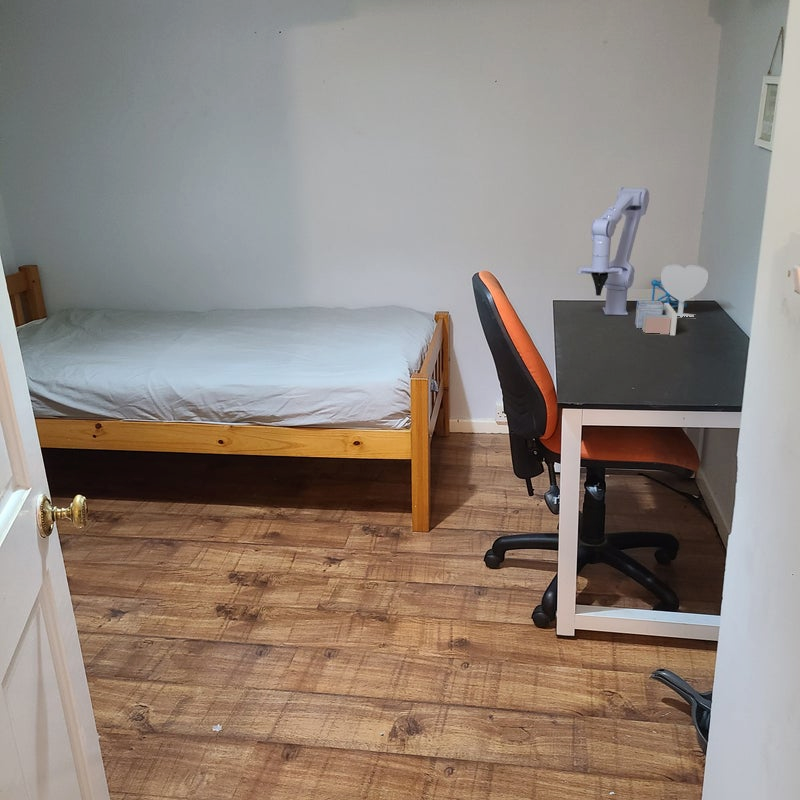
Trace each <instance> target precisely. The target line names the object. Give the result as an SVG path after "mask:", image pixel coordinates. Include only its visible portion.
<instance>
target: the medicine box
mask: <svg viewBox="0 0 800 800" xmlns="http://www.w3.org/2000/svg"><path fill="white" fill-rule="evenodd" d="M661 301H662V300H659V301H655V300H654V301H651V300H637V301H636V308H635V309H636V310H635V313H636V314H635V320H634V325H636V326H635V327H636V329H637V328H639V329H640V328H642V321H643V315H662V312H663V305H664V303H662V302H661Z"/></svg>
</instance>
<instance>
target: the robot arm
mask: <svg viewBox="0 0 800 800" xmlns="http://www.w3.org/2000/svg"><path fill="white" fill-rule="evenodd" d="M615 201H616V202H615V203H614V204H613V206H609V207H607V209H606V210H605V212H604V213H603V214H602V215H601V216H600V217H599V218H596V219H593V221H592V223H591V225H590V226H591V227H590V233H591V234H590V235H591V241H592V252H591V254H592V256H591V266H587V267H586V266H584V267H577V274H578V275H591V278H592V280H593V284H594V288H595V296H601V295H602V291H603V288H606V291H605V292H606V294H605V296H606V297H605V305H604V306H603V307H602V310H603V312H604V315H613V316H615V315H616V316H617V315H620V316H621V315H622V316H623V315H624V316H625V315H626V316H628V315H629V313H628V311H627V301H628V289H630V288H631V287H632V286H633V284H634V280H635V272H636V271H635V267H634V266H633V265H632V264H631V263H630V259H631V255H632V252H633V247H634V244H635V240H636V236H637V233H638V228H639V226H640V225H639V224H640V221H641V217H643V216H644V215H646V213H647V211H648V207H649V202H650V191H649V190H648V188H636V187H635V188H634V187H623V186H622V187H620V188H619V189H618V191H617V195H616V200H615ZM623 215H624V216H625V220H624V224H623V227H622V231H621V235H620V238H619V242H618V243H619V244H618V246H617V250H616V255H615V258H614V259H613V260H611V261H610V257H611V244H612V243H611V242H612V238H613V236H614V234H615V231H616V229H617V225H618V224H619V222H620V221H621V220H622V218H623Z"/></svg>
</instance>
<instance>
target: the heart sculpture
mask: <svg viewBox="0 0 800 800" xmlns="http://www.w3.org/2000/svg"><path fill="white" fill-rule="evenodd" d="M708 280H709V272H708V269H707V268H706V267H704V266H702V265H698V264H694V263H693V264H688V265H687V266H684V265H682V264H680V263H672V264H668V265H666V266H664V267H662V268H661V272H660V281H661V283H662V285H663V286H662V288H664V289H665V290H666V291H667V292H668V293H669V294H670V295H671V296H673V297H674V298H676V299H677V300H679V305H678V304H677V305H678V307H677V312H676V313H677V316H680V317H679V318H682V317H683V316H684V317H685V316H686V317H688V316H689V317H694V315H695V314H694V313H685V312H684V308H683V307H684V301H685V302H686V301H687V300H689V299H691V298H693V297H695V296H697V295H698V294H700V293H701V292H702V291H703V290H704V289H705V287H706V286H707V283H708Z"/></svg>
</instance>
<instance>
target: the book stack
mask: <svg viewBox="0 0 800 800" xmlns="http://www.w3.org/2000/svg"><path fill="white" fill-rule="evenodd" d="M663 305H664V307H663V312H662V315H643V321H642V329H641V330H643V331H642V333H644V332H645V333H660V334H659V335H670V336H676V333H677V332H676V330H677V321H678V317H677V313H678V312H676V311H675V309H674V308H672V307H671V306H672V305H671V303H670V304H669V303H665V302H664V303H663ZM645 333H644V334H645ZM669 333H670V334H669Z"/></svg>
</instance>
